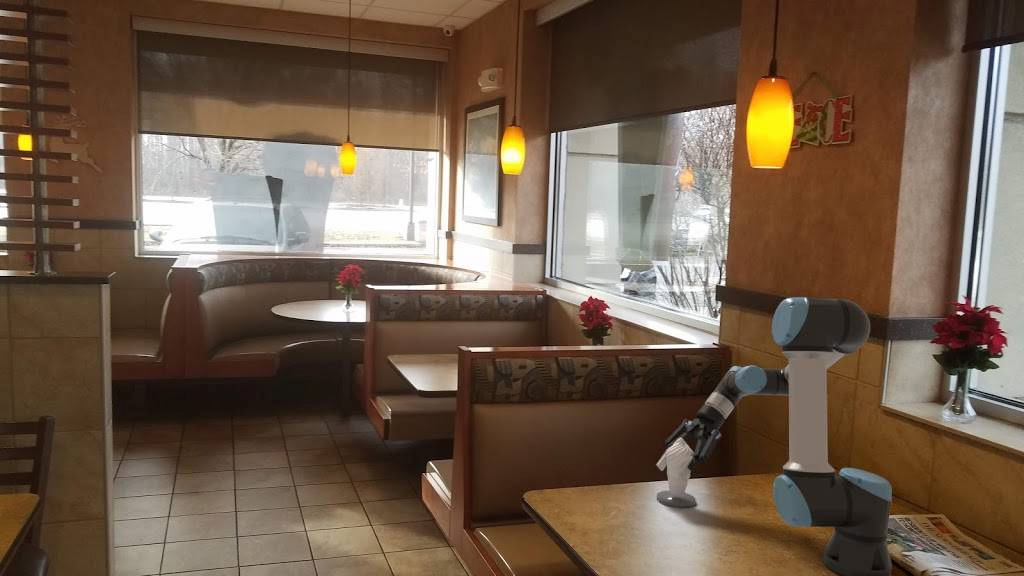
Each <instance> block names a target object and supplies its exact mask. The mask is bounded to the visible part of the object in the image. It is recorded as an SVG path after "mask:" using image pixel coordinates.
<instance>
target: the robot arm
mask: <svg viewBox="0 0 1024 576" xmlns="http://www.w3.org/2000/svg"><path fill="white" fill-rule="evenodd" d="M870 333H871V323H870V319H869V317H868V314H867V313H866V311H865V310H864V309H863V308H862V307H861V306H860V305H859V304H857V302H854V301H852V300H849V299H843V298H826V297H825V298H823V297H808V296H800V297H799V296H796V297H795V296H794V297H787V298H785V299H783V300H782V301H781V302H780V303H779V305H778V306H777V308H776V309H775V312H774V315H773V318H772V324H771V335H772V337H773V338H772V339H773V341H774V343H775V344H777V345H778V346H781V353H782V355H783V356H784V357H785V358H786V359H787V360H788V364H787V365H786V366H785V367H784V368H761V367H760V366H757V365H753V364H752V365H746V366H744V367H741V366H737V365H734V366H732V367H730V369H729V370H728V371H727V372H726V373H725V374H724V376H723V378H722V379H721V380H720V382H719V383H718V384H717V386H716V388H715V389H714V390H713V392H712V393H711V394H710V395H709V397H708V398H707V399H706V401H705V402H704V404H703V405H702V406H701V407H700V409H699V410H698V411H697V413H696V418H695V419H693V420H692V421H691V420H688V419H687V418H684V419H683V420H682V423H681V424H680V425H679V426H678V427H677V428H676V429H675V430H674V431H673V432H672V433H671V435H670V436H669V437H667V438H666V440H665V441H664V444H665V445H666V449H665V451H663V453H662V454H661V458H660V459H659V460H658V462H657V463H656V464H655V466H657V468H658V469H659V470H660V471H661V472H663V471H664V470H665V468H667V459H666V456H665V453H666V450H667V449H669V448H670V447H671V446H673V444H674V443H675V442H676V441H677V440H678V439H679V438H682V439H683V440H684V441H685V442H686V443H688V442H689V441H691V440H694V439H695V438H698V439H697V443H696V446H695V449H694V454H692V455H693V457H694V458H693V457H692V456H690V458H689V460H687V462H686V463H685V464H684V466H683V467H682V468H681V470H680V471H679V472H678V476H679V477H680V478H681V479H682V480H684V479H685V478H686V477H687V475H688V474H689V473H690V474H691V472H692V471H694V470H695V469H696V467H697V466H698V465H699V464H700V463H704V464H706V463H707V462H708V461H709V459H710V457H711V455H712V454H713V451H714V449H715V447H716V445H717V443H718V442H719V441H721V439H722V438H723V434H721V432H720V431H719V429H720V428H721V427H722V426H723V424H724V422H725V421H726V419H727V418H728V417H729V415H730V414H731V413H732V411H733V410H734V409H735V408H736V406H737V405H738V403H739V402H740V400H741V399H742V398H744V397H747V396H750V395H754V396H757V395H758V396H788V428H789V429H788V431H789V432H788V433H789V434H788V435H789V436H788V440H789V443H788V444H789V447H788V449H789V451H788V452H789V453H788V454H789V460H788V461H787V462H786V463H785V464H784V465H782V474H780V475H778V476H776V478H775V479H774V483H773V486H772V494H773V495H772V496H773V501H774V505H775V507H776V510H777V513H778V515H779V517H781V519H782V520H783V521H784V522H785V523H786V524H787V525H789V526H791V527H803V528H805V529H808V528H814V527H815V528H834V529H833V532H832V535H831V537H830V538H829V540H828V542H827V544H826V546H825V548H824V551H823V560H822V562H823V564H824V565H825V566H826V567H827V568H828V569H829V570H831V571H833V572H834V573H836V574H839V575H841V576H890V575H891V576H892V572H893V571H892V568H893V567H892V566H893V565H892V561H891V560H892V559H891V555H890V552H889V548H888V546H889V545H888V542H887V541H888V532H889V530H888V529H889V523H890V512H891V506H892V505H891V504H892V502H893V497H892V496H893V495H892V493H893V492H892V491H893V487H892V485H891V483H890V481H888V480H887V479H886V478H884V477H882V476H880V475H878V474H875V473H872V472H869V471H867V470H863V469H858V468H854V467H853V468H852V467H843V468H841V469H840V470H839V472H838V474H839V476H836V470H835V468H834V467H833V466H832V465H831V464H830V463H829V462H828V461H829V453H828V452H829V450H828V390H827V389H828V386H827V385H828V384H827V382H828V381H827V380H828V379H827V376H828V375H827V370H828V369H829V368H830V367H831V366H833V365H834V364H835V363H836V362H838V361H839V360H840V359H841V358H843V357H844V356H845V355H852V354H855V353H856V352H857V351H858V350H860V349H861V348H863V346H864V345H865V344H866V342H867V341H868V340H869V337H870Z"/></svg>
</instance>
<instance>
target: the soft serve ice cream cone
mask: <svg viewBox="0 0 1024 576" xmlns="http://www.w3.org/2000/svg"><path fill="white" fill-rule="evenodd" d="M666 449H667V448H666ZM666 449H665V450H666ZM694 453H695V451H693V449H691V448H690V446H689V445H688V444H687V442H685V441H684V440H683V439H682V438H679V439H678V440H677V441H676V442H675V443H674V444H673V446H671V447H670V448H669V449H667V450H666V453H665V456H666V459H667V466H666V475H667V481H668V482H667V483H668V489H669V490H668V491H670V493H672V494H674V495H683V494H685V493H686V489H687V486H688V483H689V480H690V478H691V472H690V473H689V474H688V475H687V477H686V478H685V479H684V480H682V479H681V478H680V477H679V476H678V472H679V471H680V470H681V468H682V467H683V466H684V464H685V463H686V462H687V460H689V458H690V456H692V457H693V455H692V454H694ZM693 458H694V457H693Z"/></svg>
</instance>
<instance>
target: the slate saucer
mask: <svg viewBox="0 0 1024 576" xmlns="http://www.w3.org/2000/svg"><path fill="white" fill-rule="evenodd" d="M656 501H657V502H658V501H659V502H658V503H659V504H661V503H662V504H661V505H664V506H666V505H667V507H671V508H675V507H677V508H676V509H678V508H679V509H688V508H693V507H695V505H696V501H697V499H696V497H694V495H692V494H690V493H688V492H685V494H683V495H674V494H672V493H670V491H669V490H661V491H659V492H657V494H656Z"/></svg>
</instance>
